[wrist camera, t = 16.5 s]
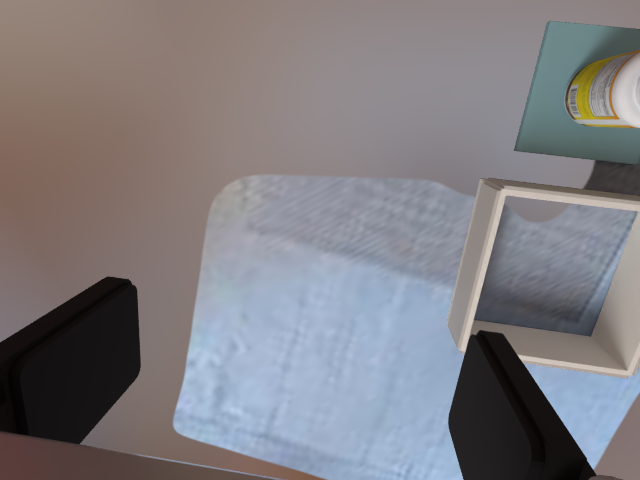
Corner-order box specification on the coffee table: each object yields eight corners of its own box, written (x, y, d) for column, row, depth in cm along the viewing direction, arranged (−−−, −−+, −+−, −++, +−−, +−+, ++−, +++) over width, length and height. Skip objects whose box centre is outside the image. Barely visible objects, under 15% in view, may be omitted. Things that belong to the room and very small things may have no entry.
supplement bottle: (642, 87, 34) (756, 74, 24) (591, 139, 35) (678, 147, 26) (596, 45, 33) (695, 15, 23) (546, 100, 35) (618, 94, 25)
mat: (547, 22, 33) (550, 21, 33) (678, 34, 33) (684, 33, 32) (513, 150, 37) (516, 150, 36) (632, 164, 36) (637, 164, 35)
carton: (477, 174, 38) (498, 184, 32) (652, 195, 37) (706, 209, 31) (443, 322, 43) (456, 352, 37) (596, 343, 42) (633, 379, 36)
